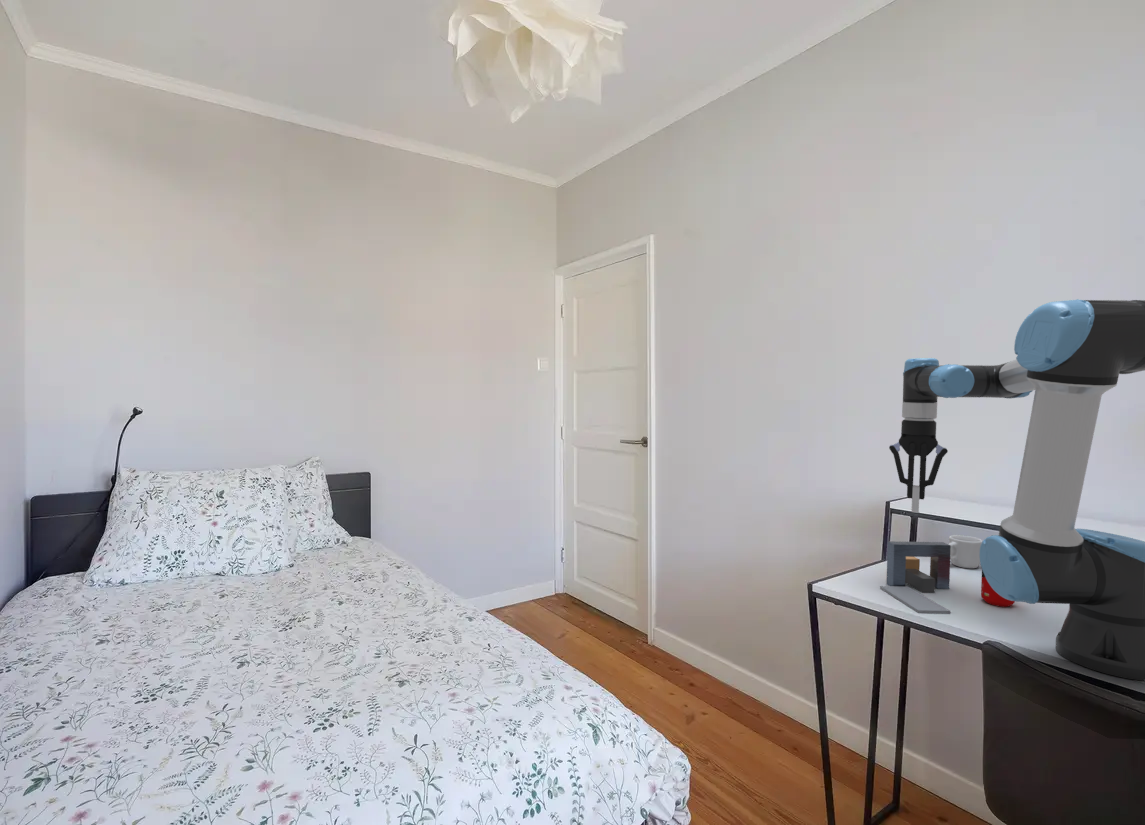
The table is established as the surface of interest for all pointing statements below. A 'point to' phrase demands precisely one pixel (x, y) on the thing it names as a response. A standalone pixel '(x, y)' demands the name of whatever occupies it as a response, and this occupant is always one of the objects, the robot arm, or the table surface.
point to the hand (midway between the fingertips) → (915, 511)
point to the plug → (918, 576)
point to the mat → (914, 599)
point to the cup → (965, 551)
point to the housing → (918, 549)
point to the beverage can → (992, 594)
